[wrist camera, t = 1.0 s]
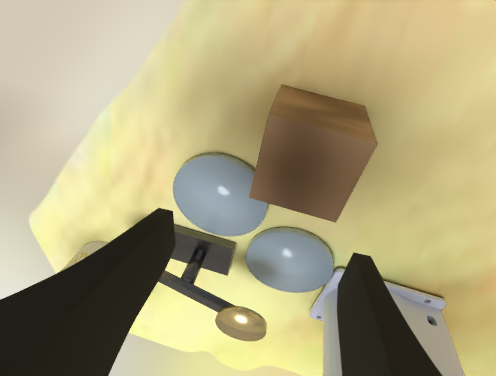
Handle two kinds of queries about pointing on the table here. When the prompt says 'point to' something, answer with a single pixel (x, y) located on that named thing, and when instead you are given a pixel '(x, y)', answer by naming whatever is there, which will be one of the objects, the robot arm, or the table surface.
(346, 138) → the block
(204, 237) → the balance
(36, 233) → the table surface
